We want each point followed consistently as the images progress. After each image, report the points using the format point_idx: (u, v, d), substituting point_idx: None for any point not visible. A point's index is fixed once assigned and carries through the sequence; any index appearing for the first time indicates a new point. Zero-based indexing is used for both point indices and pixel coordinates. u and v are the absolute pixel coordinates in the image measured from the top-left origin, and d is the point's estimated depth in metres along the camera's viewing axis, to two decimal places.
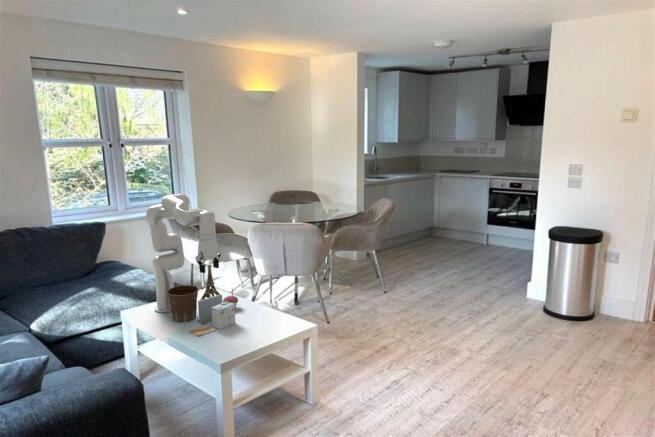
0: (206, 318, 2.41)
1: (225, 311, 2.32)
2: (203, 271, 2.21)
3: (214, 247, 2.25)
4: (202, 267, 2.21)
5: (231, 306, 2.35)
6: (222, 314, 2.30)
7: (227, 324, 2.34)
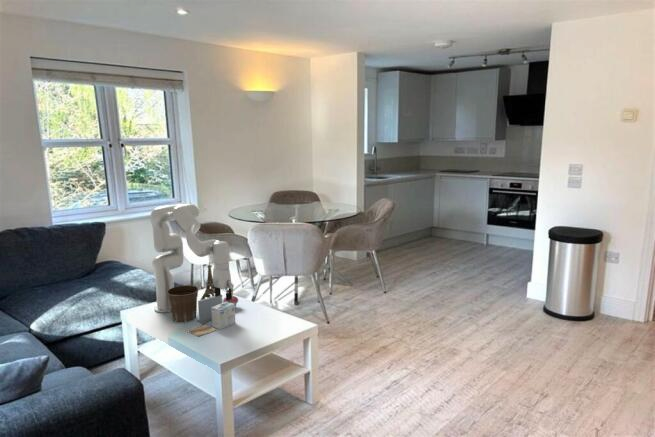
0: (206, 318, 2.41)
1: (225, 311, 2.32)
2: (230, 298, 2.31)
3: None
4: (230, 294, 2.30)
5: (231, 306, 2.35)
6: (222, 314, 2.30)
7: (227, 324, 2.34)
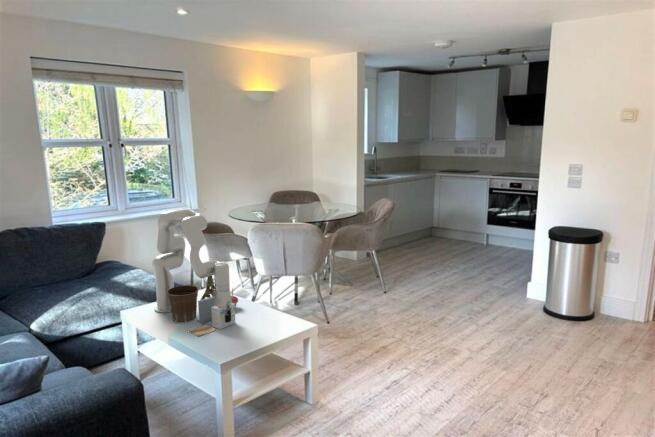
0: (206, 318, 2.41)
1: None
2: None
3: None
4: (230, 316, 2.33)
5: None
6: (222, 314, 2.30)
7: (227, 324, 2.34)
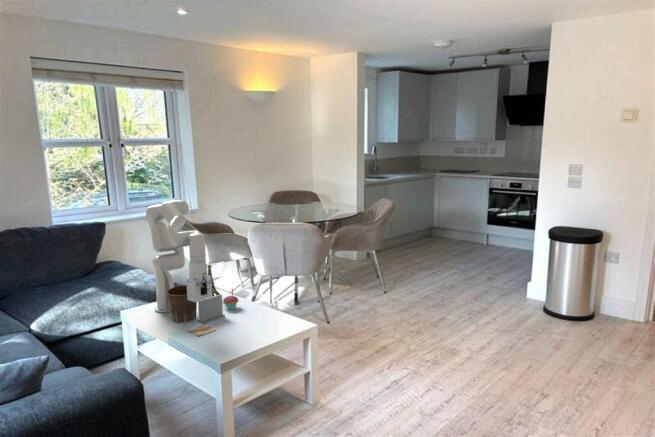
0: (206, 318, 2.41)
1: (200, 283, 2.21)
2: None
3: None
4: (205, 288, 2.23)
5: None
6: (197, 286, 2.20)
7: (203, 297, 2.24)
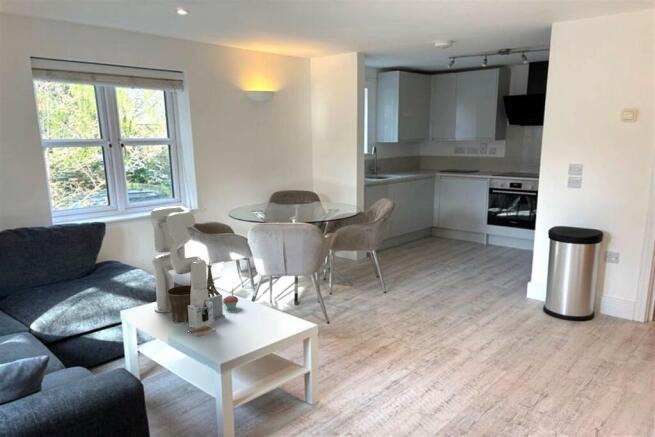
0: None
1: None
2: (207, 319, 2.26)
3: None
4: None
5: None
6: (198, 313, 2.22)
7: (204, 323, 2.26)
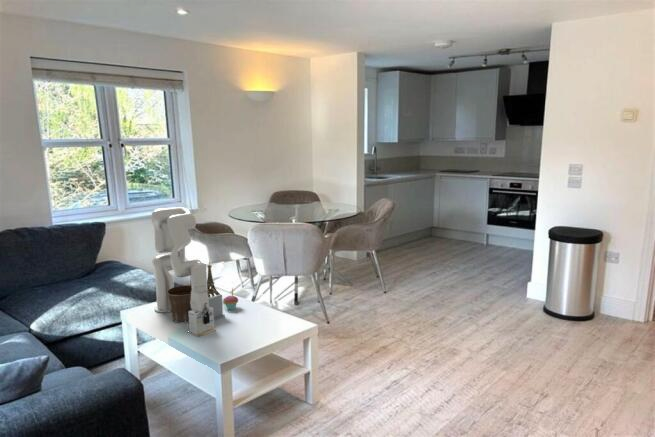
0: None
1: (202, 316, 2.24)
2: None
3: None
4: None
5: None
6: (198, 318, 2.23)
7: (204, 329, 2.26)
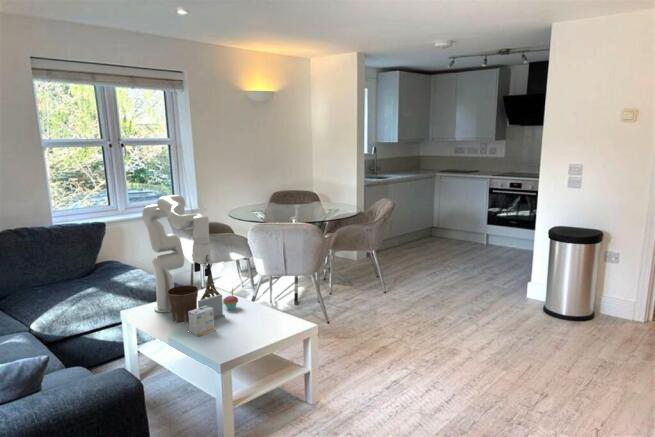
0: None
1: (202, 316, 2.24)
2: (209, 273, 2.27)
3: None
4: (209, 270, 2.26)
5: (209, 310, 2.27)
6: (198, 318, 2.23)
7: (204, 329, 2.26)
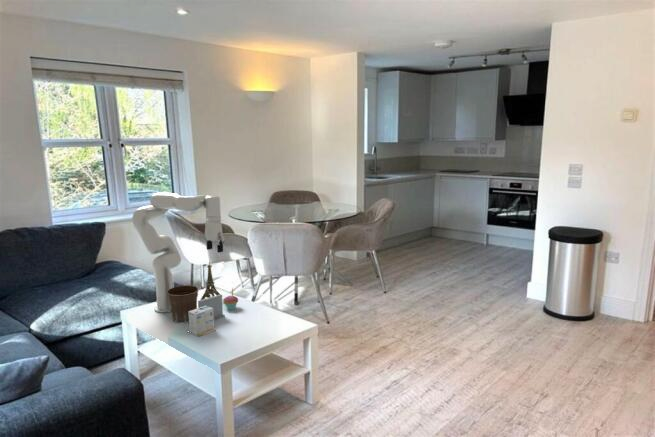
0: None
1: (202, 316, 2.24)
2: (222, 250, 2.41)
3: None
4: (222, 246, 2.40)
5: (209, 310, 2.27)
6: (198, 318, 2.23)
7: (204, 329, 2.26)
